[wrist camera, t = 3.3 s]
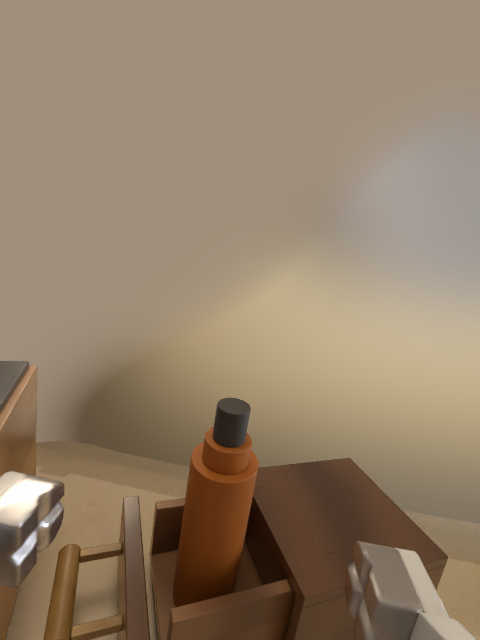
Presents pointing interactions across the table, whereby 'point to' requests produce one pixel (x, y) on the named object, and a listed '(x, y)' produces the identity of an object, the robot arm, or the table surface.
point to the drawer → (172, 622)
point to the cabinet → (330, 537)
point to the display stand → (16, 442)
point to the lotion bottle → (216, 507)
